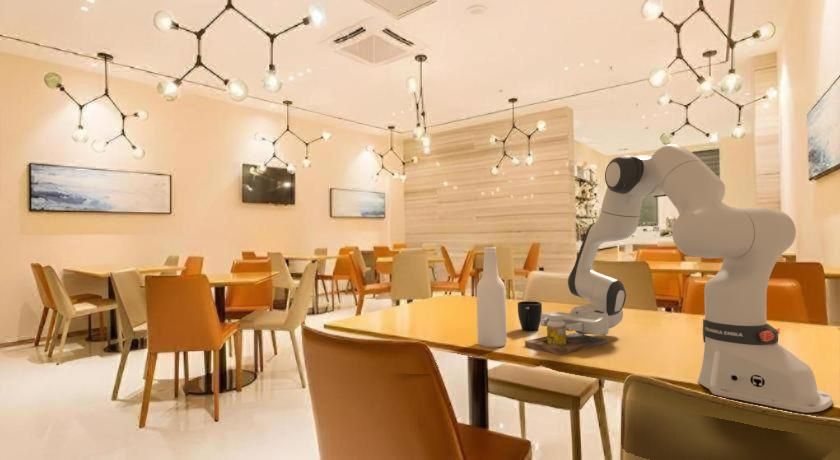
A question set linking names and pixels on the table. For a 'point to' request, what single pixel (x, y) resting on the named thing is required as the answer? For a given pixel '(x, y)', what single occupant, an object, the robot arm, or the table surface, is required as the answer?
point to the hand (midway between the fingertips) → (554, 325)
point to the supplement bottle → (556, 330)
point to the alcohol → (491, 304)
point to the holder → (560, 350)
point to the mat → (587, 339)
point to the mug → (530, 315)
